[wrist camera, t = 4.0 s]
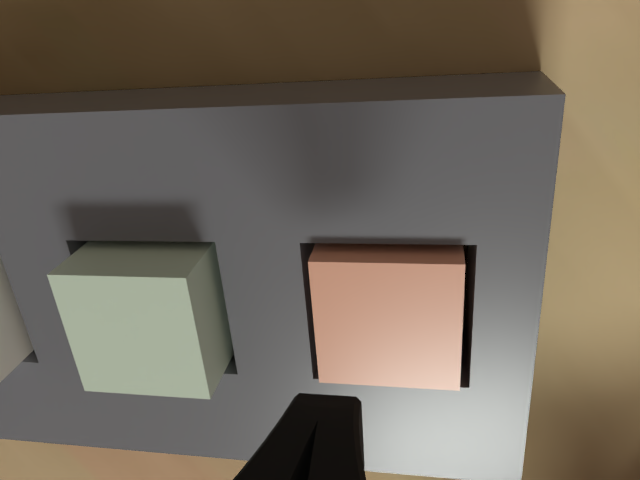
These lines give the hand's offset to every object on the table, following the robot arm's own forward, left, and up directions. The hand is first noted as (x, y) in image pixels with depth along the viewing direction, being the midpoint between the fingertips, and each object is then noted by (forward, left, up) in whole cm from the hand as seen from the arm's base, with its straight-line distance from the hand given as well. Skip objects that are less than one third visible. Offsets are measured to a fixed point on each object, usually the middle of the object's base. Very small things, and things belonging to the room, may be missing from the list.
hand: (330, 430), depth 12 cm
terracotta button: (+1, 0, -7) cm, 7 cm away
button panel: (-6, 0, -7) cm, 9 cm away
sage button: (-6, 0, -6) cm, 8 cm away
